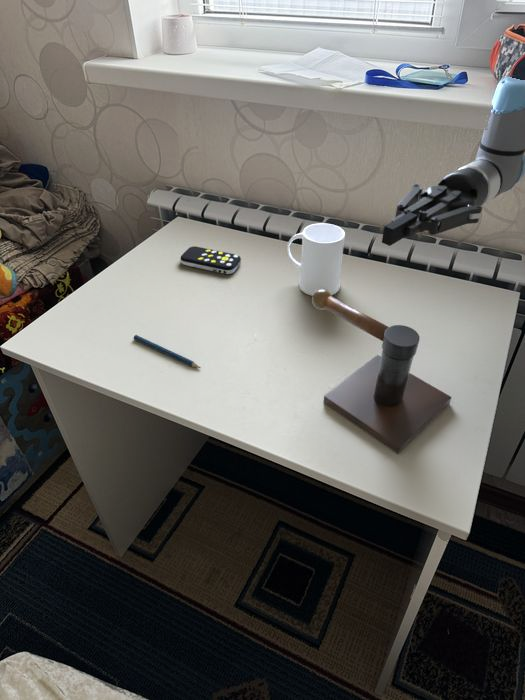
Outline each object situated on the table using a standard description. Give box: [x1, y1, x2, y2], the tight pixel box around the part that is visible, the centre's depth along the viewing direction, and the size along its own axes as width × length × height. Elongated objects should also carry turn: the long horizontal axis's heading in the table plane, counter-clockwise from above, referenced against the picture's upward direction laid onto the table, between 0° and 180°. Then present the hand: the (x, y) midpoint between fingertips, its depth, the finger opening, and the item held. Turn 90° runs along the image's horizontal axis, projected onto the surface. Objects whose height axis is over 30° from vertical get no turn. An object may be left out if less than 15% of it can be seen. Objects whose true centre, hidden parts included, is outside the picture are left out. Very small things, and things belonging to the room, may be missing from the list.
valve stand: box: [323, 349, 452, 455], centre depth 76 cm, size 14×14×11 cm
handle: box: [311, 289, 421, 360], centre depth 75 cm, size 18×5×3 cm, turn 44°
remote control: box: [180, 245, 242, 275], centre depth 111 cm, size 6×13×2 cm, turn 69°
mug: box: [286, 222, 346, 297], centre depth 101 cm, size 12×8×12 cm
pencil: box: [133, 334, 202, 369], centre depth 88 cm, size 1×1×15 cm
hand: (387, 236), depth 75 cm, fingers closed
